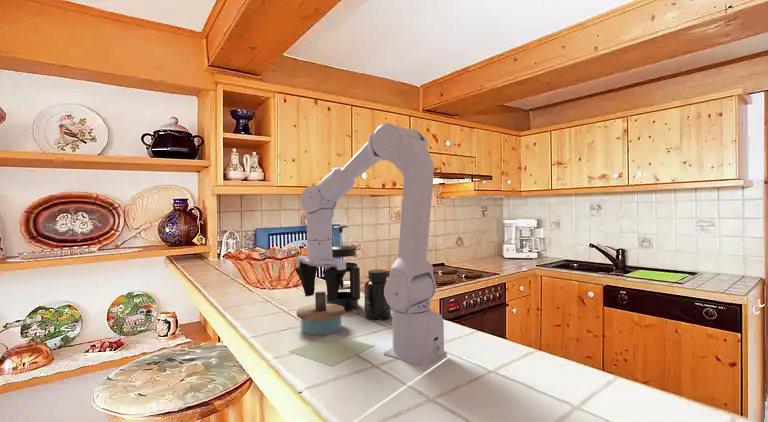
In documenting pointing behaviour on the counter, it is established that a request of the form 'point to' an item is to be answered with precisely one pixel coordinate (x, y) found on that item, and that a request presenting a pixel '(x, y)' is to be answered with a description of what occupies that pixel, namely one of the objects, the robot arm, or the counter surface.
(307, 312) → the walnut lid
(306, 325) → the teal bowl
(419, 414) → the counter surface
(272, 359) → the counter surface
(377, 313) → the supplement bottle
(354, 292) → the french press
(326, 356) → the sage mat
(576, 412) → the counter surface
